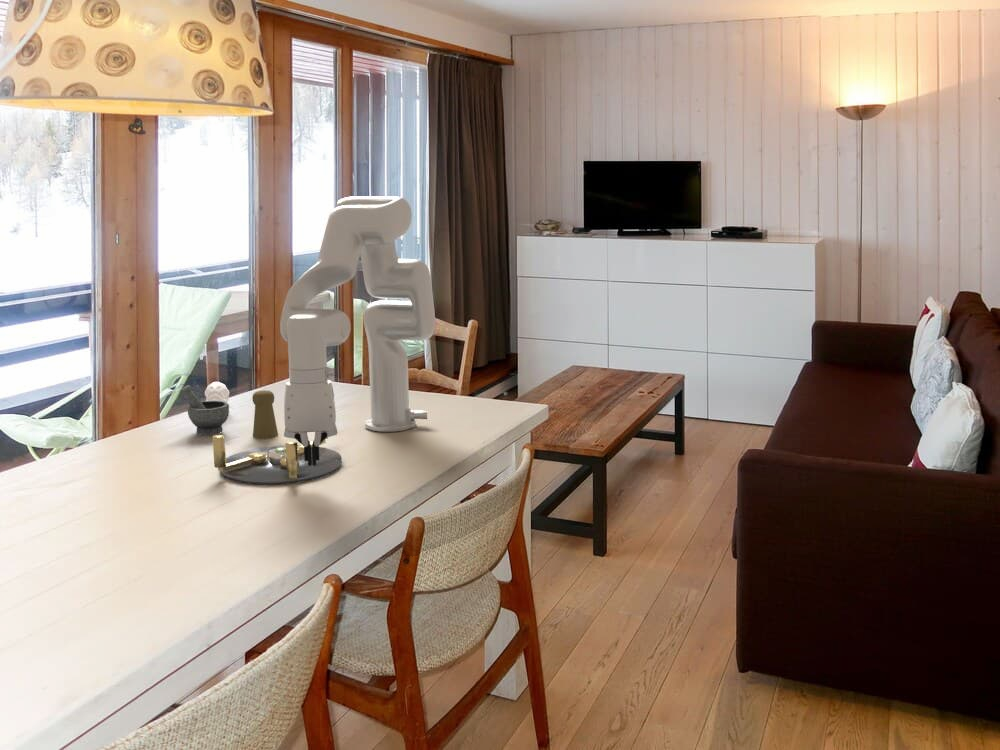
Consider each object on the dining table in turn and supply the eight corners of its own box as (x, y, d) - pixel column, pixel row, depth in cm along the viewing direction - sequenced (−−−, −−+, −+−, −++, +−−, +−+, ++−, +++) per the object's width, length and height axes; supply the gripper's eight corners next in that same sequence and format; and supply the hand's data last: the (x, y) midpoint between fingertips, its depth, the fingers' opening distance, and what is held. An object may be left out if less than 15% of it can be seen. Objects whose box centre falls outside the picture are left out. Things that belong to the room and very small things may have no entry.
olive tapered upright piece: (272, 439, 245) (269, 394, 243) (248, 437, 246) (245, 393, 244) (282, 432, 251) (279, 388, 248) (259, 431, 252) (256, 388, 250)
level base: (347, 448, 236) (346, 432, 235) (335, 483, 210) (334, 465, 209) (233, 451, 234) (232, 435, 234) (207, 486, 209) (206, 468, 208)
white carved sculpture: (229, 379, 271) (225, 393, 260) (231, 409, 274) (227, 424, 262) (204, 380, 270) (199, 394, 259) (207, 410, 273) (202, 425, 261)
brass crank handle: (279, 463, 219) (277, 429, 218) (298, 462, 220) (296, 427, 219) (283, 481, 207) (281, 445, 205) (303, 479, 208) (301, 443, 206)
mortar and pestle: (231, 426, 257) (228, 379, 254) (228, 436, 248) (225, 387, 245) (185, 428, 255) (182, 381, 253) (180, 438, 246) (177, 390, 244)
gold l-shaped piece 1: (259, 456, 224) (257, 423, 223) (271, 459, 222) (269, 426, 221) (209, 471, 214) (207, 436, 213) (222, 474, 212) (219, 439, 210)
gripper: (345, 371, 210) (348, 457, 213) (271, 373, 207) (275, 461, 211) (346, 378, 203) (349, 467, 206) (269, 381, 200) (273, 471, 204)
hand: (312, 463), depth 208 cm, fingers closed
